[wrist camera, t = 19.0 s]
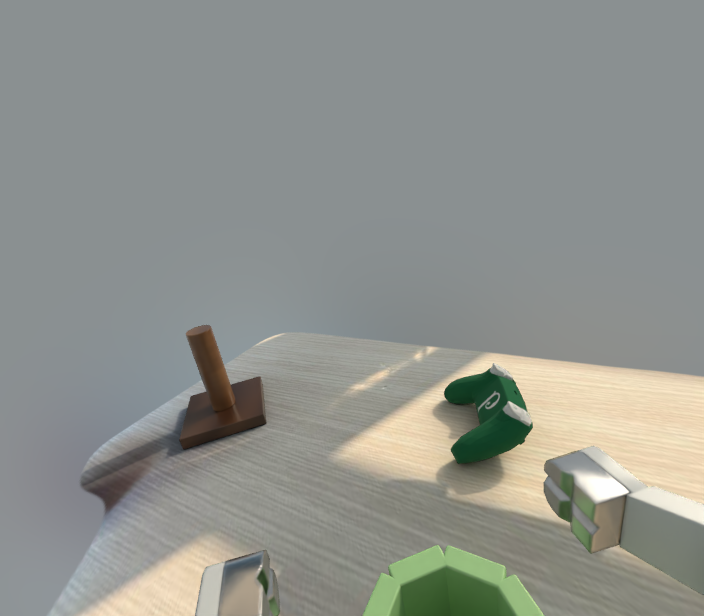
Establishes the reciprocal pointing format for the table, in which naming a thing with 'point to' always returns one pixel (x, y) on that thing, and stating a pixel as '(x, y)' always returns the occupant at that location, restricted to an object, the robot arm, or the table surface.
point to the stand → (219, 396)
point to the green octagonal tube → (449, 587)
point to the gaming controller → (490, 414)
